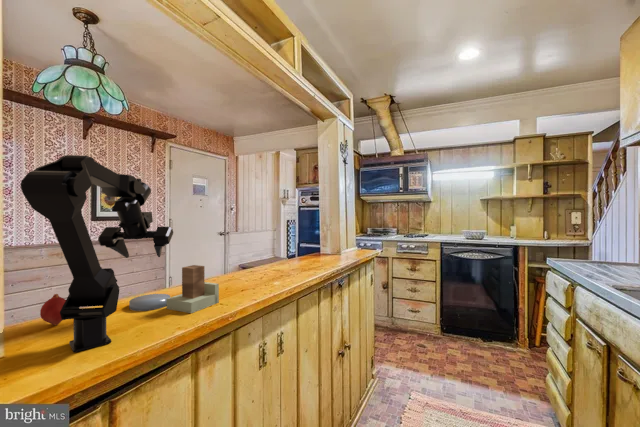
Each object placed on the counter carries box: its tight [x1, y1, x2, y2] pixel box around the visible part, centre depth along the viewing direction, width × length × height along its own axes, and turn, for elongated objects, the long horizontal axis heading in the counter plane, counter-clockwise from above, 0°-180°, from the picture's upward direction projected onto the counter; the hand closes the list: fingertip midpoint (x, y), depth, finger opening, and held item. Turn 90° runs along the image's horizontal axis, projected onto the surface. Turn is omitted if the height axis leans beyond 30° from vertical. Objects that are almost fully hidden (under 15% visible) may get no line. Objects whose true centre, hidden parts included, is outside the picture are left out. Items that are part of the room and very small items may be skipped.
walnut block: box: [181, 264, 205, 299], centre depth 92 cm, size 4×4×9 cm
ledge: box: [165, 281, 220, 314], centre depth 92 cm, size 11×10×6 cm
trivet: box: [128, 293, 171, 312], centre depth 92 cm, size 11×11×2 cm
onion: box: [39, 293, 66, 326], centre depth 76 cm, size 6×6×8 cm
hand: (143, 256), depth 93 cm, fingers open, 9 cm apart
